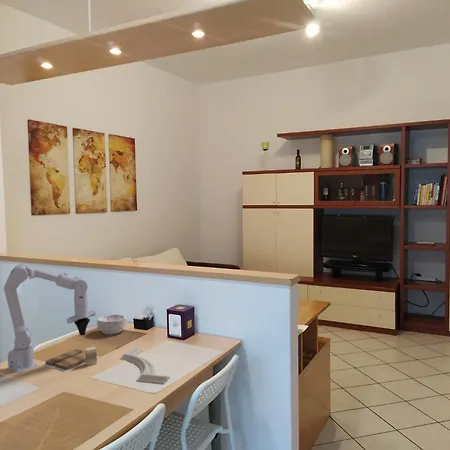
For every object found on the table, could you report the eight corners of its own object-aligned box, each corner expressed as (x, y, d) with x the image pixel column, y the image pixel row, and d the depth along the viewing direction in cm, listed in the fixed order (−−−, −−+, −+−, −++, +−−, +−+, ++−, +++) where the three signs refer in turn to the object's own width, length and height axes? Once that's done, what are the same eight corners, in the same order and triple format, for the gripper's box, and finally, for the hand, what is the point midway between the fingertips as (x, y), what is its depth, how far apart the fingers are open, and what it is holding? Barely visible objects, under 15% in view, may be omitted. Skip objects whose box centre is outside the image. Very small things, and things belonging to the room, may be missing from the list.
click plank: (67, 369, 179) (66, 366, 179) (54, 366, 183) (54, 363, 183) (96, 357, 193) (96, 354, 193) (84, 354, 197) (84, 351, 197)
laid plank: (53, 366, 184) (52, 362, 184) (45, 364, 187) (45, 360, 187) (82, 354, 198) (82, 350, 198) (75, 352, 200) (75, 349, 200)
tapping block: (95, 362, 189) (96, 364, 186) (85, 364, 186) (87, 366, 184) (94, 346, 188) (96, 348, 185) (85, 348, 186) (86, 350, 183)
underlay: (65, 372, 178) (65, 371, 178) (41, 365, 186) (41, 365, 186) (100, 357, 194) (100, 356, 194) (77, 351, 202) (77, 351, 202)
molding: (173, 383, 167) (173, 376, 166) (143, 390, 161) (143, 382, 161) (140, 350, 204) (140, 344, 204) (115, 355, 198) (114, 348, 198)
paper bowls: (118, 325, 242) (118, 312, 241) (131, 332, 230) (131, 317, 230) (93, 331, 232) (92, 317, 231) (105, 338, 220) (104, 323, 220)
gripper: (73, 310, 185) (75, 341, 186) (99, 302, 197) (100, 331, 198) (63, 308, 188) (64, 338, 189) (89, 301, 201) (90, 329, 202)
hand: (82, 334), depth 194 cm, fingers closed
